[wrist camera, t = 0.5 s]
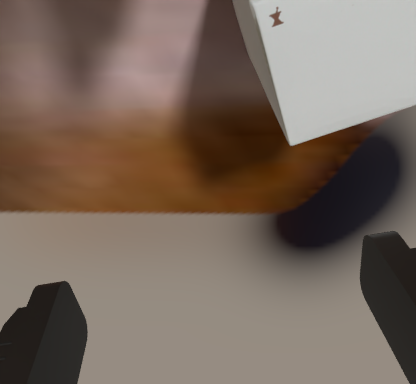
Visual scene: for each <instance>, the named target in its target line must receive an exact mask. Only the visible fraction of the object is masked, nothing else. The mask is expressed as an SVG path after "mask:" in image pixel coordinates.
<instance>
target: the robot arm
mask: <svg viewBox="0 0 416 384" xmlns="http://www.w3.org/2000/svg"><path fill="white" fill-rule="evenodd" d="M360 284H361V289H362V293H363V295H364V298H365V300H366V302H367V304H368V306H369V307H370V310H371V311H372V313H373V315H374V317H375V319H376V321H377V323H378V325H379V327H380V328H381V330H382V332H383V334H384V336H385V338H386V340H387V342H388V343H389V345H390V347H391V349H392V351H393V353H394V355H395V357H396V359H397V360H398V362H399V364H400V366H401V368H402V370H403V372H404V374H405V376H406V377H407V379H408V381H409V383H410V384H416V248H412V249H410V248H409V247H408V245H407V244H406V243H405V241H404V240H403V239H402V238H401V236H400V235H399V234H398V233H397V232H395V231H390V232H384V233H377V234H371V235H366V236H364V239H363V246H362V257H361V269H360ZM86 342H87V324H86V319H85V317H84V315H83V312H82V310H81V308H80V306H79V304H78V302H77V299H76V297H75V295H74V293H73V291H72V289H71V287H70V285H69V283H68V282H66V281H62V282H56V283H50V284H43V285H38V286H36V287H35V288H34V290H33V292H32V295H31V297H30V300H29V302H28V304H27V307H23V308H18V309H17V310H16V312H15V313H14V314H13V315H12V316H11V317H10V318H9V320H8V321H7V322H6V323H5V324H4V326H3V328H2V330H1V332H0V384H77V382H78V378H79V373H80V369H81V364H82V360H83V355H84V351H85V347H86Z"/></svg>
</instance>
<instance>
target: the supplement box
mask: <svg viewBox="0 0 416 384" xmlns="http://www.w3.org/2000/svg"><path fill="white" fill-rule="evenodd" d="M232 2H233V5H234V9H235V13H236V16H237V20H238V23H239V26H240V30H241V33H242V36H243V39H244V43H245V46H246V49H247V53H248V56H249V58H250V60H251V62H252V64H253V66H254V68H255V71H256V73H257V75H258V77H259V79H260V82H261V84H262V86H263V88H264V91H265V93H266V95H267V98H268V100H269V102H270V104H271V106H272V109H273V111H274V113H275V115H276V117H277V120H278V122H279V124H280V126H281V128H282V130H283V133H284V135H285V137H286V139H287V141H288V143H289V145H291V146H293V145H296V144H299V143H302V142H305V141H308V140H311V139H314V138H317V137H320V136H323V135H326V134H329V133H332V132H335V131H338V130H341V129H344V128H347V127H350V126H353V125H356V124H359V123H362V122H365V121H368V120H371V119H374V118H378V117H381V116H384V115H387V114H390V113H393V112H396V111H399V110H402V109H405V108H408V107H411V106H414V105H416V0H232Z"/></svg>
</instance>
